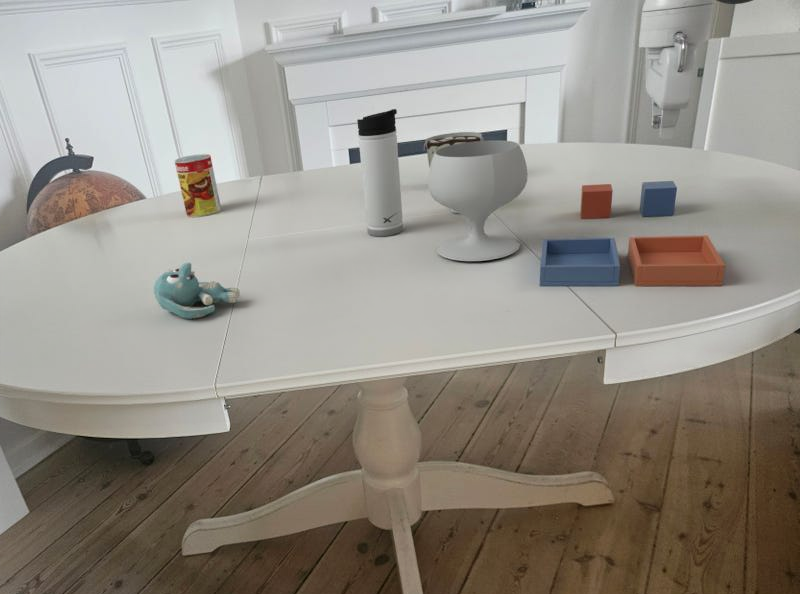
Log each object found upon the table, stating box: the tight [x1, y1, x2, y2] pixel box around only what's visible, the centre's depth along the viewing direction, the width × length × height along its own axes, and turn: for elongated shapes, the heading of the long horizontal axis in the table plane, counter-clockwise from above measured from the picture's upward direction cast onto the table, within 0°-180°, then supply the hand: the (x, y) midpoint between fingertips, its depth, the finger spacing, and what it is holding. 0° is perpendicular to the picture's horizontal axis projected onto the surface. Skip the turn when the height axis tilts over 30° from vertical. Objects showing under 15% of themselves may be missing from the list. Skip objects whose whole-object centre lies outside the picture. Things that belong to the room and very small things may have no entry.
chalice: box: [427, 139, 528, 262], centre depth 93 cm, size 14×14×15 cm
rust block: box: [580, 183, 614, 220], centre depth 103 cm, size 4×4×4 cm
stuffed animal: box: [153, 261, 241, 320], centre depth 88 cm, size 11×7×12 cm
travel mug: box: [357, 108, 404, 238], centre depth 106 cm, size 6×7×20 cm
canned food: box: [174, 153, 222, 218], centre depth 140 cm, size 8×8×12 cm
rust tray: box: [627, 234, 726, 287], centre depth 79 cm, size 9×11×3 cm
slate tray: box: [539, 237, 621, 287], centre depth 83 cm, size 9×11×3 cm
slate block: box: [639, 180, 678, 218], centre depth 100 cm, size 4×4×4 cm
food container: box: [423, 131, 485, 169], centre depth 134 cm, size 12×6×10 cm, turn 80°
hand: (661, 133), depth 95 cm, fingers open, 8 cm apart
